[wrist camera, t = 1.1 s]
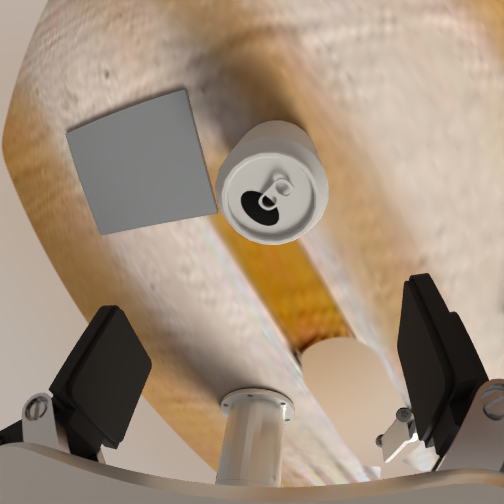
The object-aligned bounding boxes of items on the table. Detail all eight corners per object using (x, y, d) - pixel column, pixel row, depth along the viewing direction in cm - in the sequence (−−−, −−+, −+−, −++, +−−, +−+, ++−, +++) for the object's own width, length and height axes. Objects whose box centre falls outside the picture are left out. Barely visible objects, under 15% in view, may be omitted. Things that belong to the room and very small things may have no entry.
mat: (218, 211, 33) (217, 213, 33) (103, 233, 36) (101, 235, 36) (186, 88, 27) (184, 89, 26) (68, 133, 30) (65, 134, 29)
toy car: (482, 439, 39) (452, 465, 45) (470, 401, 47) (444, 429, 53) (404, 452, 40) (379, 476, 46) (396, 407, 49) (374, 436, 54)
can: (222, 158, 30) (186, 203, 20) (275, 103, 27) (267, 114, 17) (278, 208, 32) (272, 275, 22) (332, 157, 29) (356, 203, 19)
